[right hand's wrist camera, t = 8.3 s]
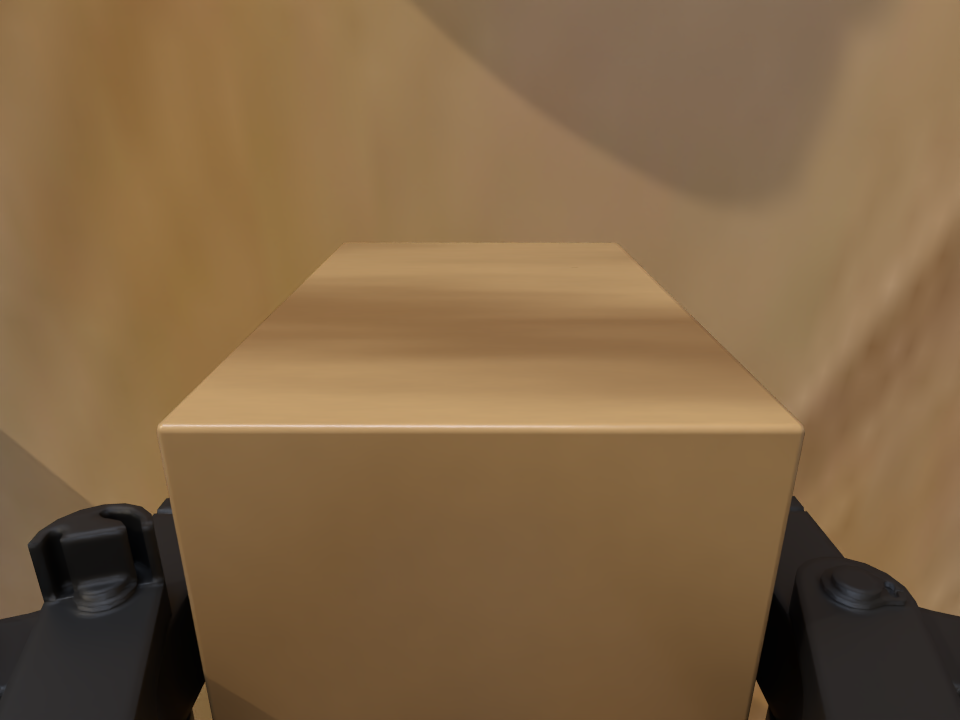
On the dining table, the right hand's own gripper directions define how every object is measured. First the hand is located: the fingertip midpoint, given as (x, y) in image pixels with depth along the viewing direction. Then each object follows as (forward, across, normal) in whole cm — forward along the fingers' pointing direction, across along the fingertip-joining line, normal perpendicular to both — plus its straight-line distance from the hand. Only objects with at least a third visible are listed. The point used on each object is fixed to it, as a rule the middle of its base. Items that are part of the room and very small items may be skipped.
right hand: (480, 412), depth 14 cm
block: (+1, 0, -14) cm, 14 cm away
